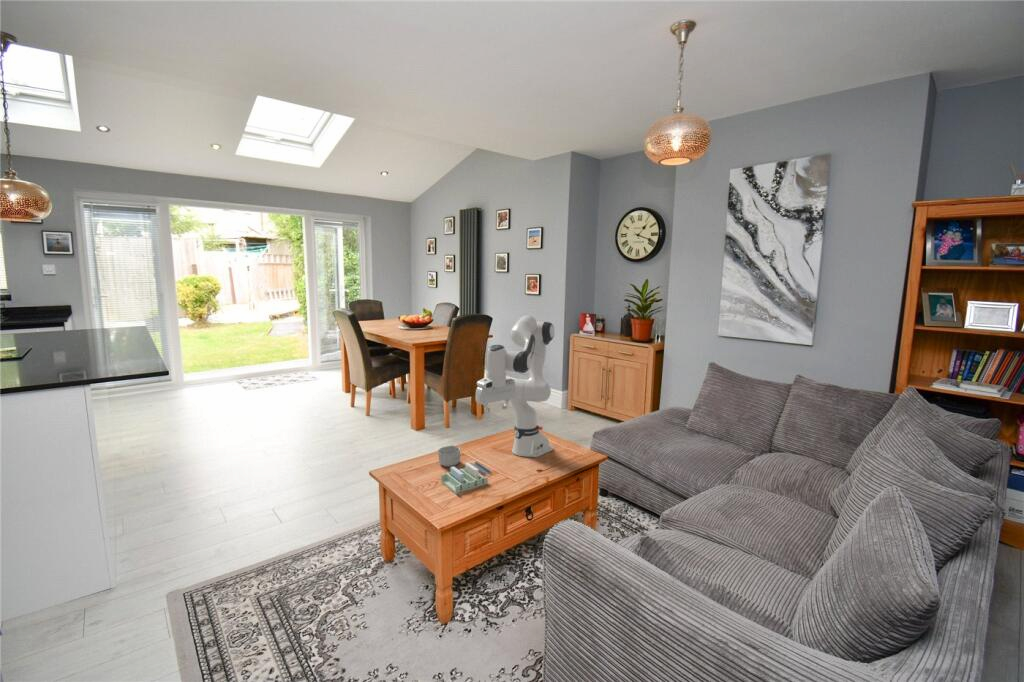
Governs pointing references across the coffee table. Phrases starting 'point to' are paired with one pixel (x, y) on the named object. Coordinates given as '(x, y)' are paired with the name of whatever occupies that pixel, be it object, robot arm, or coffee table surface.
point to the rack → (461, 480)
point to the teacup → (449, 455)
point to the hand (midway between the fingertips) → (496, 410)
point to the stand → (481, 468)
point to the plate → (472, 470)
